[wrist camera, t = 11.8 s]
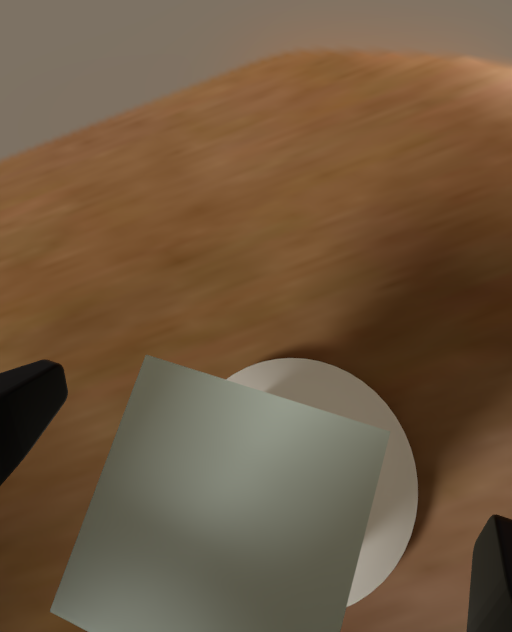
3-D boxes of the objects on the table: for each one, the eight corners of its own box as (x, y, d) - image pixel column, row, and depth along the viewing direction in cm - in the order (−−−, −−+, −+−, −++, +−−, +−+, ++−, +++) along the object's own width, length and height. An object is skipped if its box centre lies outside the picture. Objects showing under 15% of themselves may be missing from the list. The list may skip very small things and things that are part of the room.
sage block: (366, 437, 18) (390, 431, 8) (333, 564, 17) (310, 748, 7) (253, 400, 20) (145, 354, 9) (216, 517, 19) (50, 611, 8)
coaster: (466, 482, 18) (474, 485, 17) (293, 664, 18) (290, 680, 17) (293, 319, 22) (290, 312, 20) (143, 469, 21) (131, 471, 20)
